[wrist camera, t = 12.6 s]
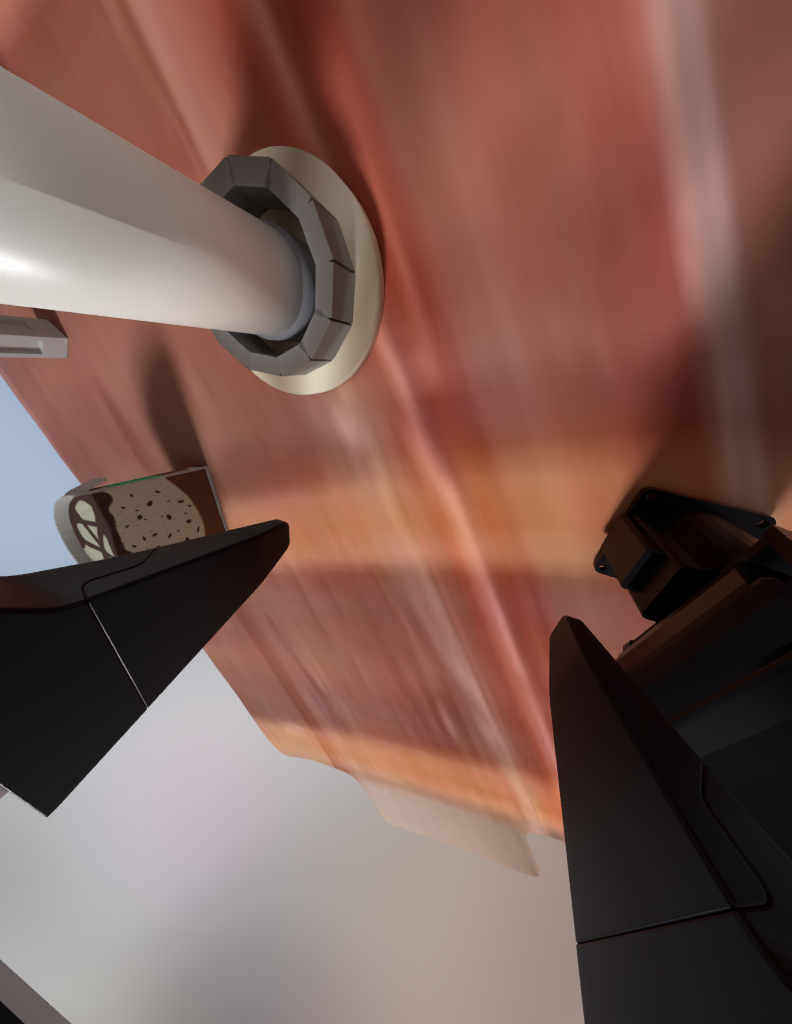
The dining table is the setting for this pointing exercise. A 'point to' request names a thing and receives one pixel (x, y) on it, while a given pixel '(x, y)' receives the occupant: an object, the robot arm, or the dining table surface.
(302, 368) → the socket
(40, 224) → the white smooth rounded part
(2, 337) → the stool
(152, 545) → the food container
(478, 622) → the dining table surface
